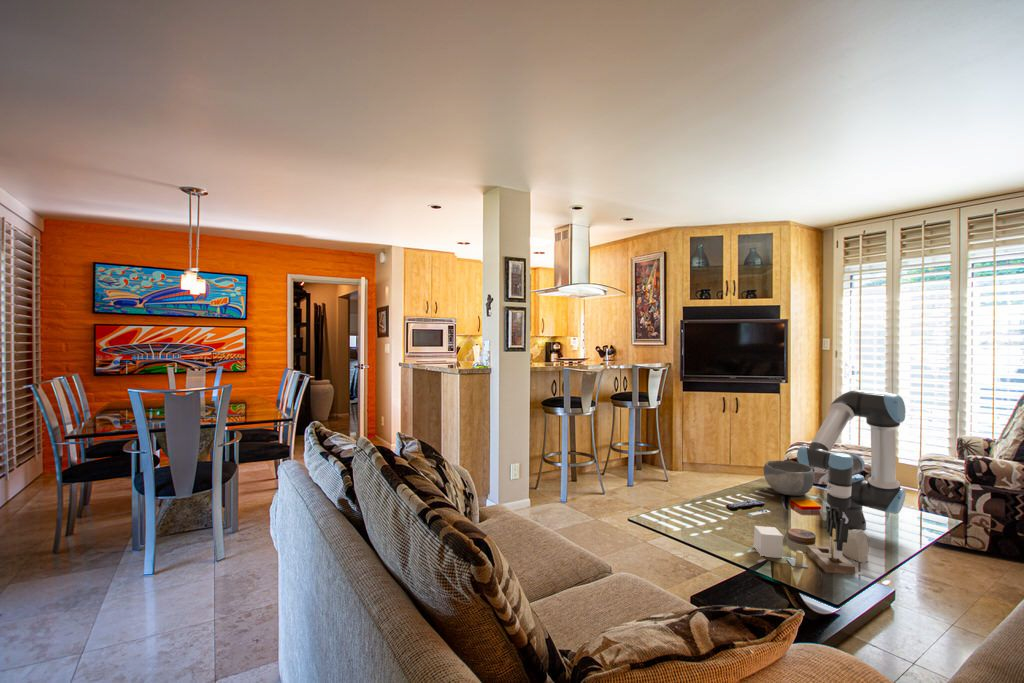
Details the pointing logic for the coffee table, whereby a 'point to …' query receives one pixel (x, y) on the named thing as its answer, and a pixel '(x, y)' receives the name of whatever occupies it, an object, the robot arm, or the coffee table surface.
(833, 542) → the pin
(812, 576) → the coffee table surface
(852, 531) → the stone
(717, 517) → the coffee table surface
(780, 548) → the cube
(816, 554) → the socket board
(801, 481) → the bowl
